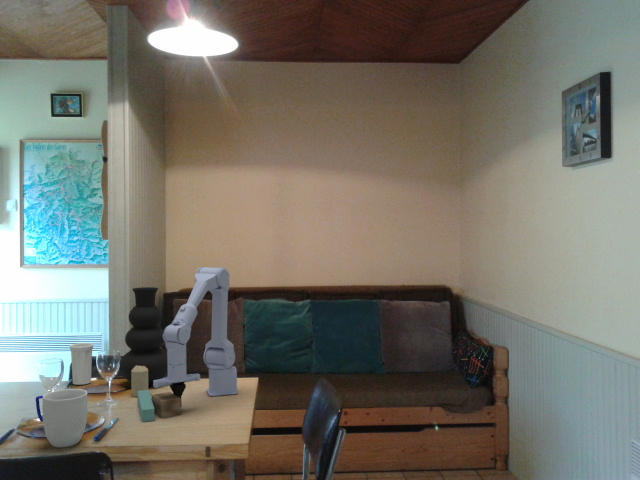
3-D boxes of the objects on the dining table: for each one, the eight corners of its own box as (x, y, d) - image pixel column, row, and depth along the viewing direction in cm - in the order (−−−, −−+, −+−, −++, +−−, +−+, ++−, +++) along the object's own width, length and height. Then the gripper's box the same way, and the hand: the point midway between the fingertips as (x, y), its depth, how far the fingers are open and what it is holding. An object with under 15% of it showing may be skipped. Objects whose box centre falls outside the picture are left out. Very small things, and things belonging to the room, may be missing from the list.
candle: (150, 392, 204) (150, 364, 204) (144, 397, 199) (144, 367, 199) (135, 392, 205) (135, 363, 205) (128, 396, 199) (128, 367, 199)
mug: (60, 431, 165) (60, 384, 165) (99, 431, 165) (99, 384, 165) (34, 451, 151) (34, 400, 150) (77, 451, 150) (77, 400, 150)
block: (170, 407, 187) (170, 391, 187) (180, 414, 180) (180, 398, 180) (151, 410, 184) (151, 394, 184) (161, 418, 177) (161, 401, 177)
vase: (178, 377, 225) (178, 286, 225) (160, 390, 207) (160, 291, 206) (132, 376, 227) (131, 285, 227) (110, 389, 209) (110, 290, 208)
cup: (65, 385, 213) (65, 346, 213) (78, 380, 221) (77, 342, 221) (85, 386, 212) (85, 347, 212) (98, 381, 220) (97, 343, 220)
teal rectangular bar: (148, 400, 195) (148, 389, 195) (154, 420, 175) (154, 408, 175) (137, 401, 194) (137, 390, 194) (142, 421, 173) (142, 410, 173)
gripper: (193, 358, 191) (194, 399, 191) (149, 364, 182) (150, 407, 183) (202, 361, 185) (203, 405, 185) (157, 368, 177) (158, 413, 177)
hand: (177, 406), depth 184 cm, fingers closed, pressing on block
